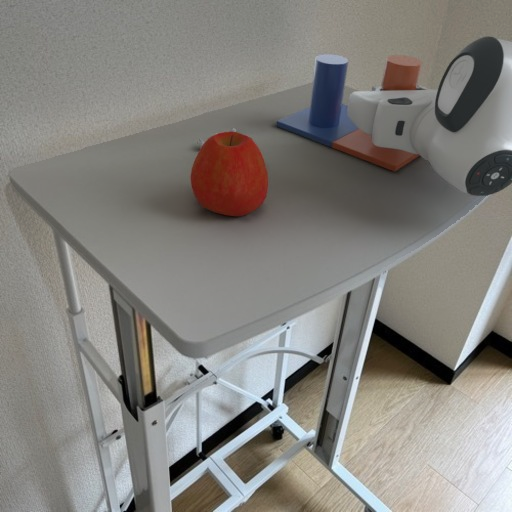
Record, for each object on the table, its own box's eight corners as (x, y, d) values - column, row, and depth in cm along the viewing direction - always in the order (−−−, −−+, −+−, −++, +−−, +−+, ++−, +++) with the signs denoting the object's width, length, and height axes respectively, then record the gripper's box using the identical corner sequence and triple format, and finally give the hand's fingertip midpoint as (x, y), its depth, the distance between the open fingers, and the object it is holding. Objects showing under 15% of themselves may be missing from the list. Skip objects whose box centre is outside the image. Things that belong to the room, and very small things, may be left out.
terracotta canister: (412, 127, 92) (428, 61, 86) (396, 136, 89) (411, 68, 82) (384, 118, 95) (397, 53, 89) (367, 126, 92) (379, 59, 85)
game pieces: (200, 152, 88) (200, 140, 87) (193, 147, 89) (193, 136, 88) (240, 140, 92) (241, 130, 91) (233, 136, 94) (233, 125, 92)
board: (440, 142, 96) (441, 137, 95) (394, 171, 86) (396, 166, 85) (327, 104, 108) (328, 99, 108) (276, 126, 98) (276, 120, 98)
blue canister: (345, 122, 99) (354, 59, 92) (327, 130, 95) (336, 66, 89) (320, 113, 101) (327, 52, 95) (302, 121, 98) (308, 58, 91)
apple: (187, 224, 71) (185, 149, 65) (195, 185, 79) (194, 115, 73) (266, 228, 71) (272, 153, 65) (266, 189, 79) (271, 120, 73)
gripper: (506, 100, 79) (458, 69, 89) (372, 103, 74) (339, 71, 85) (492, 141, 82) (448, 107, 93) (364, 146, 78) (333, 110, 89)
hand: (395, 90), depth 89 cm, fingers closed on terracotta canister, 5 cm apart
